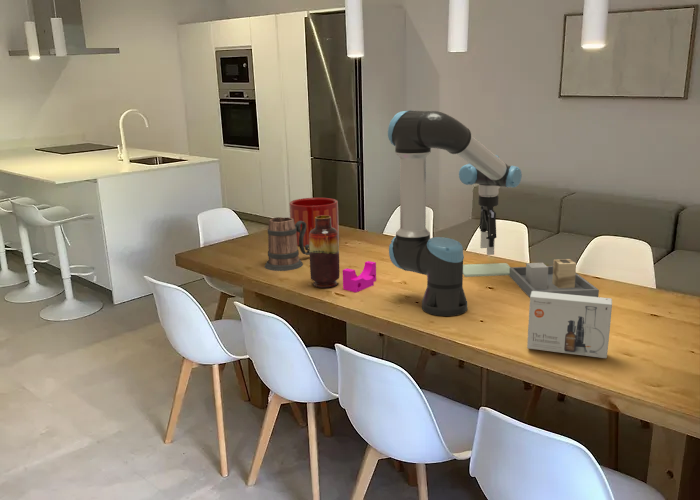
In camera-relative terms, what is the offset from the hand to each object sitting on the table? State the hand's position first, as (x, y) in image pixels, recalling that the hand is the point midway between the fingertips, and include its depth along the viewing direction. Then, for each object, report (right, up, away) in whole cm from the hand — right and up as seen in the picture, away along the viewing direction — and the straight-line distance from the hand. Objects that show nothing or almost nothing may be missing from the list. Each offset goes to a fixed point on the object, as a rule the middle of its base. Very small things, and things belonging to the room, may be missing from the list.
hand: (487, 251), depth 248 cm
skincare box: (+6, -28, -73) cm, 79 cm away
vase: (-64, -13, -10) cm, 65 cm away
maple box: (+23, -12, -20) cm, 33 cm away
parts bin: (+19, -13, -20) cm, 30 cm away
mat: (0, -8, +2) cm, 8 cm away
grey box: (+13, -13, -20) cm, 27 cm away
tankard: (-80, -6, +19) cm, 82 cm away
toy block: (-49, -13, -12) cm, 52 cm away
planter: (-71, +4, +54) cm, 89 cm away
